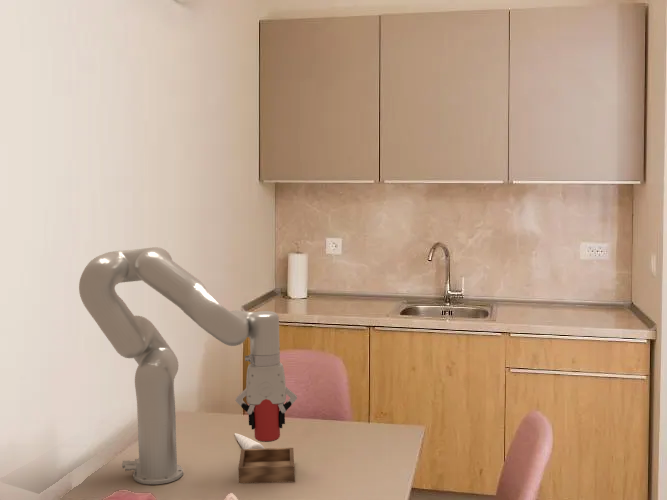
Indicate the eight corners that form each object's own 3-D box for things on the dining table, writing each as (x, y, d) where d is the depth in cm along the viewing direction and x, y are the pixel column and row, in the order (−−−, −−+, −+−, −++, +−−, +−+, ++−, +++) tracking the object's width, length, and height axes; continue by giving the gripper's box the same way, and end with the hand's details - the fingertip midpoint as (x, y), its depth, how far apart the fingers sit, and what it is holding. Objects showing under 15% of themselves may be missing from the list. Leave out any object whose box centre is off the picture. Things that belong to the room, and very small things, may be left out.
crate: (238, 483, 199) (238, 468, 199) (241, 463, 213) (241, 449, 213) (294, 481, 200) (294, 466, 200) (293, 462, 214) (293, 447, 214)
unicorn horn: (247, 433, 239) (246, 418, 239) (265, 460, 217) (265, 443, 216) (231, 435, 238) (231, 420, 237) (248, 462, 215) (247, 445, 215)
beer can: (285, 437, 207) (284, 392, 206) (269, 444, 202) (268, 398, 200) (265, 433, 211) (263, 388, 210) (249, 440, 205) (248, 394, 204)
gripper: (230, 364, 200) (232, 433, 202) (299, 361, 201) (300, 430, 203) (232, 357, 207) (234, 424, 209) (298, 355, 208) (300, 421, 210)
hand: (267, 426), depth 206 cm, fingers closed on beer can, 6 cm apart
